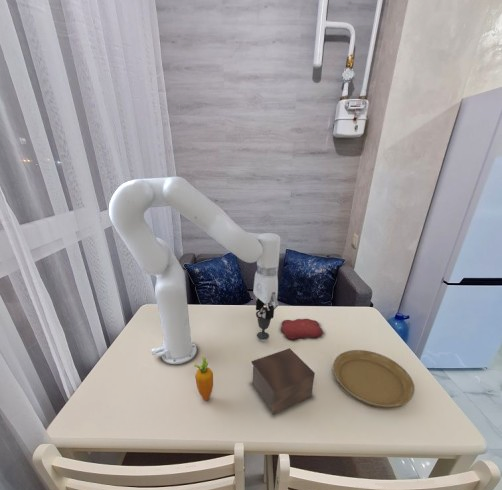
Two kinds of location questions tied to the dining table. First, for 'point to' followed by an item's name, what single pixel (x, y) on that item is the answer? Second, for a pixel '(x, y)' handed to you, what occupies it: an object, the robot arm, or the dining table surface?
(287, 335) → the patty
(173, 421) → the dining table surface
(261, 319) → the sundae
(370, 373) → the plant saucer
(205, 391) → the carrot
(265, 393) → the container
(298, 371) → the brown box lid
